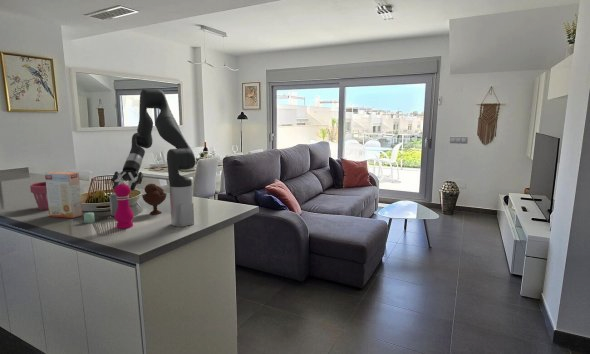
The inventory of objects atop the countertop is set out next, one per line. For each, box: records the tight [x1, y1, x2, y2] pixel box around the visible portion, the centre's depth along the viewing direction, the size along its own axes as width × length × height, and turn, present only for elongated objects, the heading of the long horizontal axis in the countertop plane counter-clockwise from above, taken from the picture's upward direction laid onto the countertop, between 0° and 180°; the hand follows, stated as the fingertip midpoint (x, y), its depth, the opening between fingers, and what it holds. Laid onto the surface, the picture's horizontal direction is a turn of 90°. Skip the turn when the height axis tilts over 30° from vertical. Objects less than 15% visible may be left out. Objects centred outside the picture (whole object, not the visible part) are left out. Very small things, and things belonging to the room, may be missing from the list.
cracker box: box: [44, 171, 83, 219], centre depth 160 cm, size 14×6×21 cm, turn 74°
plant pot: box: [29, 181, 49, 211], centre depth 176 cm, size 14×14×13 cm
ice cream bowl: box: [141, 183, 168, 216], centre depth 166 cm, size 11×11×15 cm
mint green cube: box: [83, 212, 96, 224], centre depth 152 cm, size 4×4×4 cm
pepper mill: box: [113, 181, 135, 230], centre depth 145 cm, size 7×7×20 cm
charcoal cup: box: [109, 192, 118, 217], centre depth 164 cm, size 6×6×10 cm
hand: (123, 189), depth 169 cm, fingers open, 8 cm apart
